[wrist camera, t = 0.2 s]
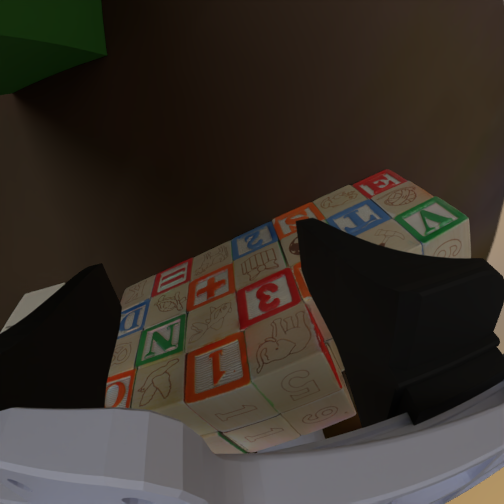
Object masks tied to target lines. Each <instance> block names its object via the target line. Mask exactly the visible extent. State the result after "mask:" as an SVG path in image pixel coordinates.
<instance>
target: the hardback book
mask: <svg viewBox="0 0 504 504" xmlns="http://www.w3.org/2000/svg"><path fill="white" fill-rule="evenodd" d="M104 56H107V50H106V42H105V34H104V25H103V15H102V4H101V0H0V95H4V94H10V93H14V92H16V91H18V90H20V89H22V88H24V87H26V86H29V85H31V84H33V83H35V82H37V81H40V80H42V79H44V78H47V77H49V76H52V75H54V74H57V73H59V72H62V71H64V70H67V69H69V68H72V67H75V66H78V65H80V64H83V63H86V62H89V61H92V60H95V59H98V58H101V57H104Z"/></svg>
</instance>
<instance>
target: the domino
mask: <svg viewBox="0 0 504 504" xmlns="http://www.w3.org/2000/svg"><path fill="white" fill-rule="evenodd" d="M64 284H65V283H62V284H59V285H55V286H52V287H48V288H45V289H41V290H38V291H35V292H31V293H28V294H25V295H24V296H23V298H22V299H21V301H20V302H19V304H18V305H17V307H16V308H15V310H14V312H13V313H12V315H11V316H10V318H9V319H8V321H7V323H6V324H5V326H4V328H3V329H2V331H1V333H2V332H4V331H5V330H7V329H9V328H10V327H12V326H13V325H15V324H16V323H17V322H19V321H20V320H22V319H23V318H24V317H26V316H27V315H28V314H30V313H31V312H32V311H34V310H35V309H36V308H37V307H38V306H40V305H41V304H42V303H43V302H44V301H46V300H47V299H48V298H49V297H50V296H52V295H53V294H54V293H55V292H56V291H57V290H59V289H60V288H61V287H62V286H63V285H64ZM1 333H0V334H1Z"/></svg>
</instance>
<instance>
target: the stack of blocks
mask: <svg viewBox="0 0 504 504" xmlns="http://www.w3.org/2000/svg"><path fill="white" fill-rule="evenodd" d="M308 218H315V219H318V220H320V221H322V222H325V223H327V224H329V225H331V226H333V227H335V228H337V229H340V230H342V231H344V232H346V233H349V234H351V235H353V236H356V237H358V238H361V239H363V240H366V241H369V242H371V243H374V244H377V245H381V246H384V247H388V248H391V249H395V250H399V251H404V252H409V253H414V254H420V255H427V256H435V257H446V258H471V244H470V227H469V218H468V217H467V216H466V215H464V214H463V213H461V212H460V211H458V210H457V209H455V208H454V207H453V206H451V205H449V204H448V203H446V202H445V201H443V200H442V199H440V198H439V197H433V196H432V195H431V194H429V193H428V192H427V191H425V190H423V189H422V188H420V187H419V186H417V185H415V184H414V183H412V182H410V181H407V180H405V179H404V178H402V177H401V176H399V175H398V174H396V173H394V172H392V171H391V170H389V169H385V170H383V171H381V172H379V173H377V174H374V175H372V176H370V177H368V178H366V179H364V180H361V181H359V182H357V183H355V184H353V185H352V186H351V185H347V186H345V187H343V188H341V189H338V190H336V191H334V192H332V193H330V194H327V195H325V196H323V197H321V198H319V199H317V200H315V201H313V202H310V203H307V204H305V205H303V206H300V207H298V208H296V209H294V210H292V211H289V212H287V213H285V214H283V215H281V216H279V217H276V218H274V219H273V220H272V221H271V222H268V223H266V224H263V225H261V226H259V227H257V228H255V229H253V230H251V231H248V232H246V233H244V234H242V235H240V236H238V237H235V238H234V239H232V240H231V241H228V242H225V243H223V244H221V245H219V246H217V247H215V248H213V249H211V250H209V251H206V252H204V253H202V254H200V255H198V256H196V257H194V258H190V259H188V260H186V261H183V262H181V263H179V264H177V265H175V266H173V267H171V268H169V269H167V270H165V271H162V272H160V273H158V274H156V275H153V276H151V277H149V278H147V279H145V280H143V281H141V282H139V283H137V284H135V285H132V286H130V287H128V288H126V289H125V291H124V294H123V297H122V300H121V303H120V304H121V306H122V312H121V322H120V329H119V333H118V338H117V342H116V346H115V350H114V353H113V357H112V362H111V366H110V370H109V374H108V379H107V385H106V395H105V408H111V407H122V408H133V409H146V410H152V411H154V412H157V413H160V414H163V415H166V416H169V417H173V418H176V419H179V420H180V421H181V422H183V423H184V424H185V425H187V426H188V427H189V428H190V429H192V430H193V431H194V432H196V433H197V434H198V435H200V436H201V437H202V438H203V439H204V441H205V442H206V444H207V445H208V447H209V448H210V450H211V451H212V452H213V453H214V454H247V452H256V451H260V450H263V449H266V448H269V447H273V446H276V445H279V444H282V443H285V442H288V441H291V440H294V439H297V438H298V437H300V436H301V435H307V434H310V433H312V432H315V431H318V430H320V429H323V428H326V427H328V426H331V425H333V424H336V423H338V422H341V421H343V420H345V419H348V418H350V417H353V416H354V415H356V411H355V409H354V406H353V403H352V401H351V398H350V395H349V393H348V390H347V387H346V384H345V381H344V379H343V376H342V373H341V372H342V371H344V370H345V369H344V366H343V363H342V361H341V358H340V355H339V352H338V349H337V347H336V344H335V342H334V340H333V338H332V335H331V333H330V332H329V330H328V328H327V326H326V324H325V322H324V320H323V318H322V316H321V314H320V312H319V310H318V308H317V306H316V304H315V302H314V300H313V298H312V297H311V295H310V293H309V290H308V287H307V285H306V282H305V279H304V276H303V273H302V270H301V261H300V253H299V244H298V236H297V228H296V221H298V220H303V219H308Z"/></svg>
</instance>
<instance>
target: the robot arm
mask: <svg viewBox="0 0 504 504" xmlns="http://www.w3.org/2000/svg"><path fill="white" fill-rule="evenodd" d="M296 228H297V236H298V244H299V253H300V261H301V270H302V273H303V276H304V279H305V282H306V285H307V287H308V290H309V293H310V295H311V297H312V298H313V300H314V302H315V304H316V306H317V308H318V310H319V312H320V314H321V316H322V318H323V320H324V322H325V324H326V326H327V328H328V330H329V332H330V333H331V335H332V338H333V340H334V342H335V344H336V347H337V349H338V352H339V355H340V358H341V361H342V363H343V366H344V369H345V372H346V375H347V378H348V381H349V384H350V387H351V391H352V394H353V397H354V400H355V404H356V407H357V411H358V414H359V418H360V421H361V425H362V428H361V429H358V430H355V431H352V432H348V433H345V434H341V435H338V436H334V437H331V438H327V439H325V437H324V434H323V430H322V429H320V430H318V431H315V432H312V433H310V434H307V435H301V436H300V437H298V438H297V439H294V440H291V441H288V442H285V443H282V444H279V445H276V446H273V447H269V448H266V449H263V450H260V451H258V453H248V454H214V453H213V452H212V451H211V450H210V448H209V447H208V445H207V444H206V442H205V441H204V439H203V438H202V437H201V436H200V435H198V434H197V433H196V432H194V431H193V430H192V429H190V428H189V427H188V426H187V425H185V424H184V423H183V422H181V421H180V420H179V419H176V418H173V417H169V416H166V415H163V414H160V413H157V412H154V411H152V410H146V409H133V408H122V407H111V408H105V395H106V385H107V379H108V374H109V370H110V366H111V362H112V357H113V353H114V350H115V346H116V342H117V338H118V333H119V329H120V322H121V312H122V306H121V304H120V302H119V300H118V297H117V295H116V293H115V291H114V289H113V287H112V285H111V282H110V280H109V278H108V276H107V274H106V271H105V269H104V267H103V264H97V265H93V266H89V267H87V268H85V269H84V270H82V271H81V272H79V273H78V274H77V275H75V276H74V277H73V278H72V279H70V280H69V281H68V282H67V283H66V284H64V285H63V286H62V287H61V288H60V289H59V290H57V291H56V292H55V293H54V294H53V295H52V296H50V297H49V298H48V299H47V300H46V301H44V302H43V303H42V304H41V305H40V306H38V307H37V308H36V309H35V310H34V311H32V312H31V313H30V314H28V315H27V316H26V317H24V318H23V319H22V320H20V321H19V322H17V323H16V324H15V325H13V326H12V327H10V328H9V329H7V330H5V331H4V332H2V333H1V334H0V504H445V503H447V502H449V501H451V500H452V499H454V498H456V497H458V496H459V495H461V494H463V493H464V492H466V491H468V490H469V489H471V488H473V487H474V486H475V485H477V484H479V483H480V482H482V481H484V480H485V479H486V478H488V477H490V476H491V475H492V474H494V473H495V472H497V471H498V470H500V469H501V468H502V467H504V354H502V353H501V352H500V350H499V349H498V348H497V346H498V345H499V343H500V340H499V338H498V337H497V336H496V334H495V333H494V332H493V331H494V328H495V326H496V323H497V320H498V318H499V315H500V312H501V309H502V306H503V303H504V279H503V276H502V275H500V273H499V272H498V271H496V270H495V269H494V268H493V267H492V266H491V265H490V264H489V263H488V262H487V261H485V260H484V259H483V258H446V257H435V256H427V255H420V254H414V253H409V252H404V251H399V250H395V249H391V248H388V247H384V246H381V245H377V244H374V243H371V242H369V241H366V240H363V239H361V238H358V237H356V236H353V235H351V234H349V233H346V232H344V231H342V230H340V229H337V228H335V227H333V226H331V225H329V224H327V223H325V222H322V221H320V220H318V219H315V218H308V219H303V220H298V221H296Z"/></svg>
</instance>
